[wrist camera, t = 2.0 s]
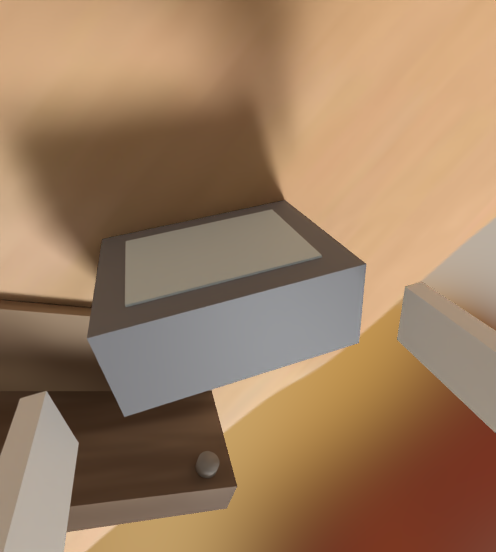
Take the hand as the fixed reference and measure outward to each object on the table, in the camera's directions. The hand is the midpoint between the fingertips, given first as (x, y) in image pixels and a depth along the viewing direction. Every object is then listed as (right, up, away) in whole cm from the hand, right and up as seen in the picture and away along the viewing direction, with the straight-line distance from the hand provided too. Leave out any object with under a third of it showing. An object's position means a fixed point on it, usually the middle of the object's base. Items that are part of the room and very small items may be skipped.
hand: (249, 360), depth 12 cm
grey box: (-3, +5, +7) cm, 9 cm away
